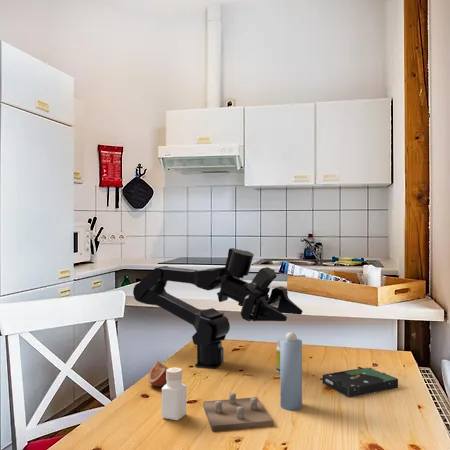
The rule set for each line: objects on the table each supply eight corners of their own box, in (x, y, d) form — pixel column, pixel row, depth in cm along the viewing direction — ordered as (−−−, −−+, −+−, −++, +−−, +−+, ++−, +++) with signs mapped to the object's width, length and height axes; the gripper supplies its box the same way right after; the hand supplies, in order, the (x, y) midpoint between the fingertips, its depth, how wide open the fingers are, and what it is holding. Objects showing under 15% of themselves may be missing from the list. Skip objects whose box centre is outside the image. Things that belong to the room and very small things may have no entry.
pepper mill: (278, 408, 97) (278, 334, 96) (282, 400, 101) (282, 329, 101) (300, 411, 95) (300, 335, 95) (303, 403, 100) (303, 330, 100)
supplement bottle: (293, 375, 118) (293, 342, 118) (275, 374, 119) (275, 341, 119) (294, 369, 122) (294, 338, 122) (276, 368, 123) (276, 337, 123)
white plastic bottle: (187, 414, 94) (187, 368, 94) (177, 422, 90) (177, 374, 90) (170, 411, 96) (170, 365, 96) (160, 418, 92) (160, 371, 92)
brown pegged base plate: (202, 406, 98) (202, 392, 98) (257, 401, 100) (257, 388, 100) (212, 431, 86) (212, 415, 86) (273, 425, 89) (273, 410, 89)
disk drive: (349, 400, 102) (399, 389, 109) (349, 388, 102) (399, 378, 109) (321, 385, 112) (368, 376, 118) (321, 374, 112) (368, 365, 118)
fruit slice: (145, 381, 114) (145, 361, 114) (171, 377, 116) (171, 358, 116) (152, 392, 106) (152, 371, 106) (180, 388, 108) (180, 367, 108)
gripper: (231, 266, 112) (287, 290, 103) (266, 260, 127) (317, 281, 119) (220, 308, 113) (274, 335, 105) (256, 297, 129) (305, 320, 121)
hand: (294, 315), depth 113 cm, fingers open, 9 cm apart
